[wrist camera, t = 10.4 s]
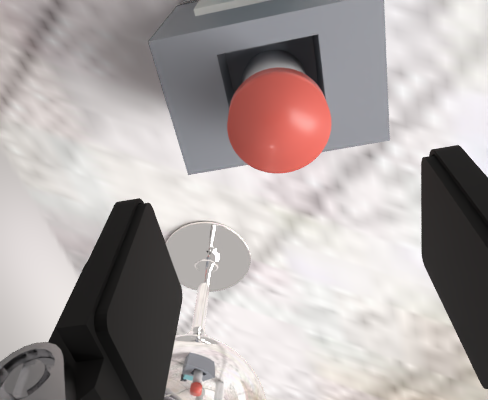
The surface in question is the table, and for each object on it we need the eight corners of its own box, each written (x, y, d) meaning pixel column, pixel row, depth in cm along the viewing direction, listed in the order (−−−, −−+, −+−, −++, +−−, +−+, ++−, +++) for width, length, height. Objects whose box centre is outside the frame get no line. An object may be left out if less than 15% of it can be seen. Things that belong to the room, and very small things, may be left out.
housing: (175, -1, 25) (145, 34, 18) (346, -38, 24) (383, -17, 17) (204, 110, 28) (188, 174, 21) (355, 82, 27) (389, 140, 20)
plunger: (224, 49, 20) (216, 87, 15) (309, 32, 19) (325, 66, 15) (241, 127, 22) (238, 180, 17) (319, 112, 21) (336, 164, 17)
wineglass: (241, 196, 31) (228, 472, 16) (278, 283, 35) (296, 570, 20) (132, 228, 33) (24, 507, 17) (179, 308, 37) (125, 592, 21)
